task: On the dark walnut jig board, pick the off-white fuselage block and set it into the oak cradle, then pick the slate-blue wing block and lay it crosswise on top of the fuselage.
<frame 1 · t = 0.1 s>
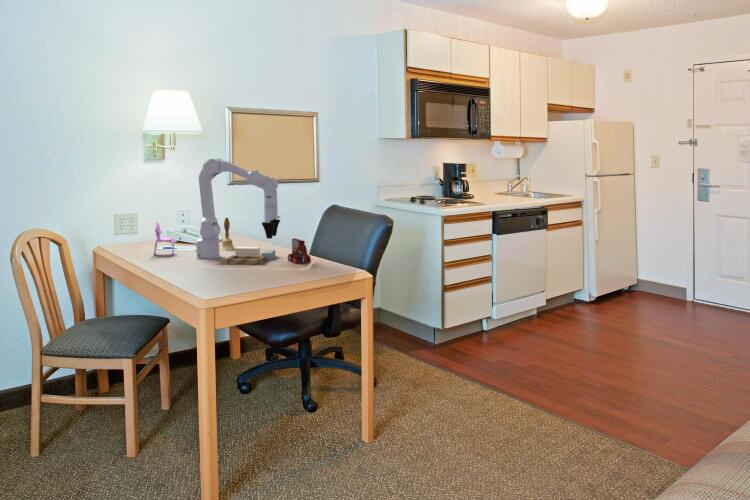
hand: (271, 237, 257), 10 cm above the table, tool pointing down, fingers open, 7 cm apart
wing: (268, 258, 258), point 1 cm above the table, touching jig
jig: (247, 261, 253), on the table
toy fire truck: (299, 264, 250), on the table
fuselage: (248, 256, 261), point 1 cm above the table, touching jig
toy chair: (164, 255, 270), on the table
hand bell: (227, 251, 280), on the table
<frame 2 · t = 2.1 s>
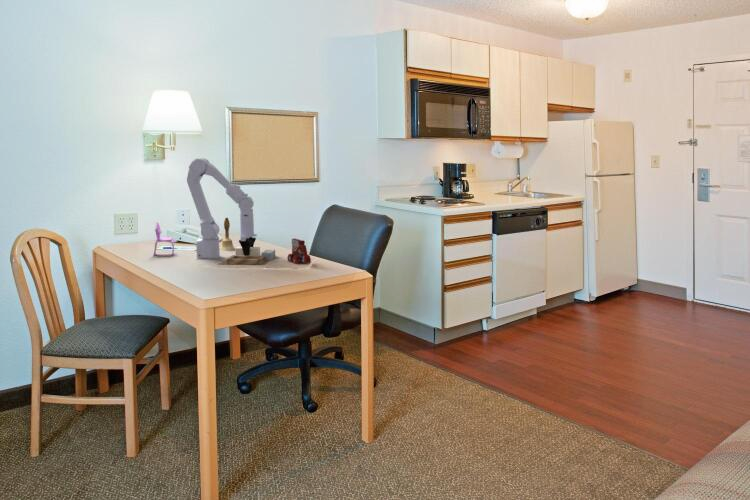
hand: (248, 254, 261), 2 cm above the table, tool pointing down, fingers closed on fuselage, 4 cm apart
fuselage: (248, 256, 261), point 1 cm above the table, touching gripper, jig
everything else where it was.
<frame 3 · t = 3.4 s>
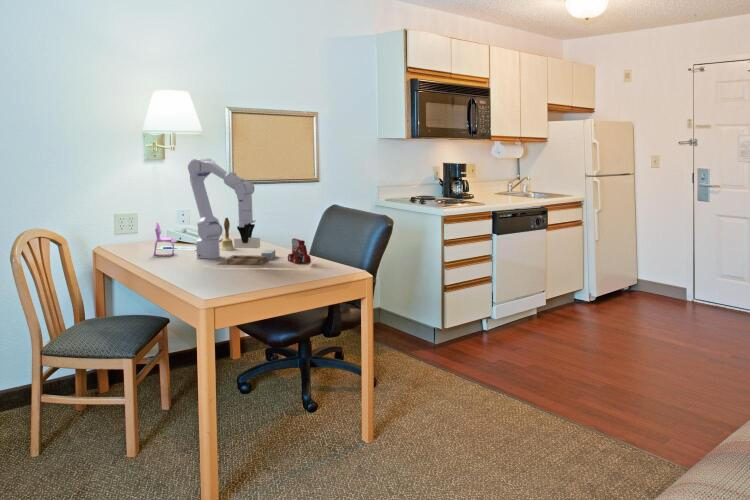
hand: (246, 242, 249), 9 cm above the table, tool pointing down, fingers closed on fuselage, 4 cm apart
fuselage: (247, 247, 250), point 7 cm above the table, touching gripper
everything else where it was.
when the fingers open (3 cm above the table, at t = 5.1 s): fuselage stays where it is, resting on jig.
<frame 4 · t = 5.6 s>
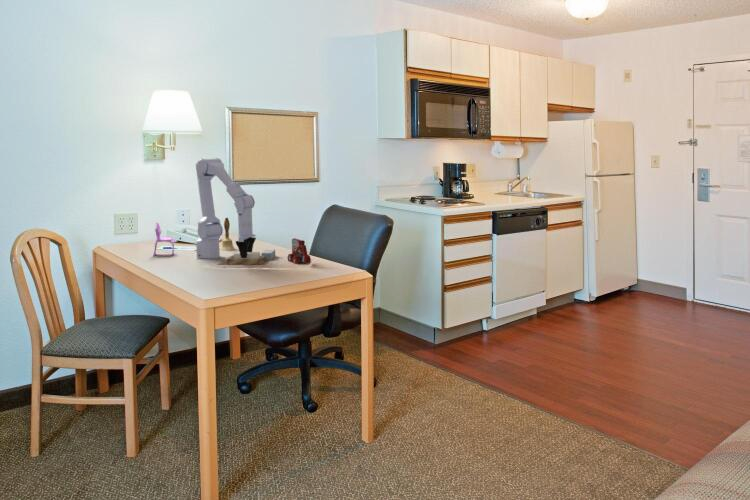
hand: (246, 256, 248), 3 cm above the table, tool pointing down, fingers open, 7 cm apart
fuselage: (247, 262, 248), point 1 cm above the table, touching jig
everything else where it was.
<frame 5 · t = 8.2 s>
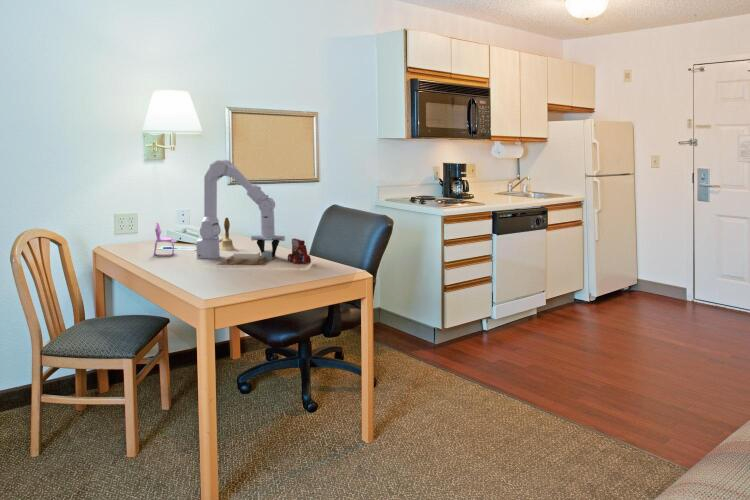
hand: (268, 256, 257), 1 cm above the table, tool pointing down, fingers closed on wing, 4 cm apart
wing: (268, 258, 258), point 1 cm above the table, touching gripper, jig
everything else where it was.
when the fingers open (6 cm above the table, at t = 10.8 s): wing stays where it is, resting on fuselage.
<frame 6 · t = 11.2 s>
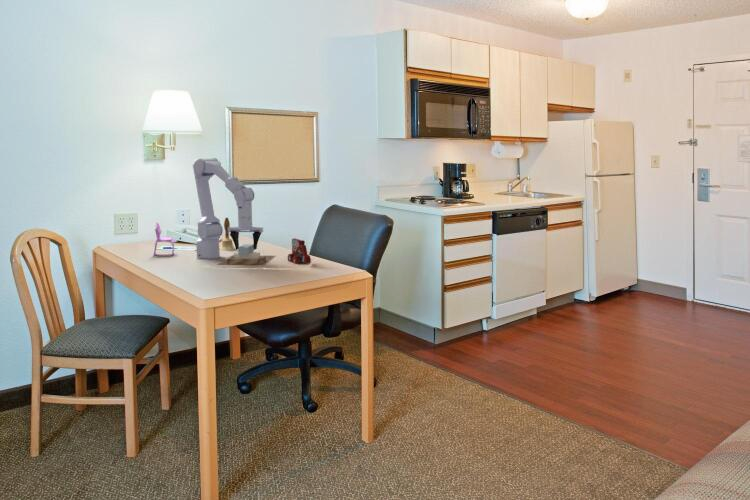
hand: (246, 249, 247), 6 cm above the table, tool pointing down, fingers open, 7 cm apart
wing: (246, 252, 247), point 5 cm above the table, touching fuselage
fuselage: (247, 262, 248), point 1 cm above the table, touching jig, wing
everything else where it was.
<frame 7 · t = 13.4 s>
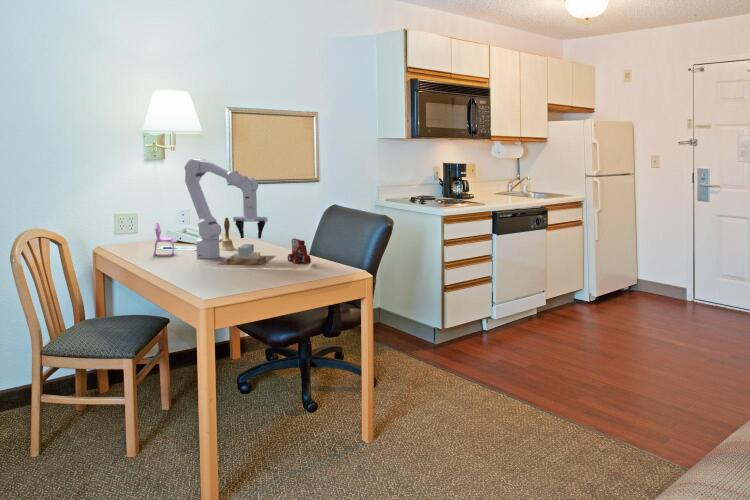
hand: (251, 238, 254), 10 cm above the table, tool pointing down, fingers open, 7 cm apart
nothing on the table moved.
at the end: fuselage 0.3 cm from the target spot on the jig, point 0.8 cm above the jig's base; wing 0.3 cm off-centre on the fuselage, point 4.0 cm above the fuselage's base; wing tilted 0° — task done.
